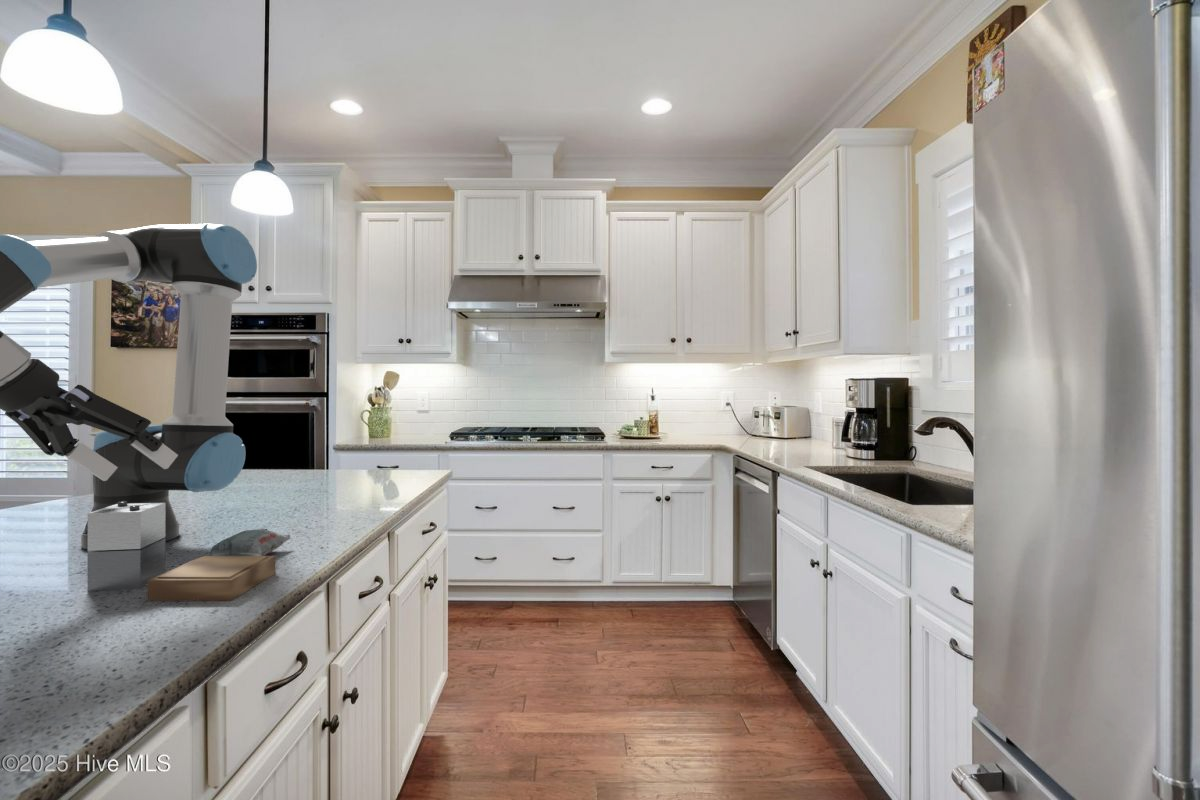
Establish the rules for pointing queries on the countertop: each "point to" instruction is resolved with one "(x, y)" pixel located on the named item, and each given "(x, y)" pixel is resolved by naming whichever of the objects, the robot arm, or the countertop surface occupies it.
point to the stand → (211, 578)
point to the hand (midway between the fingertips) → (140, 468)
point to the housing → (125, 545)
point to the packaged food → (249, 543)
